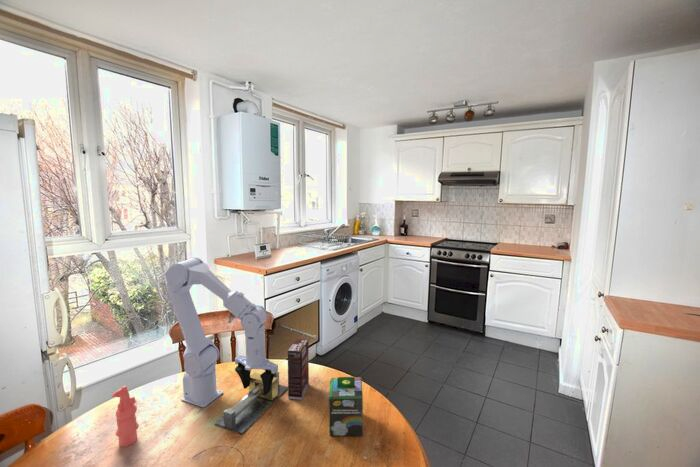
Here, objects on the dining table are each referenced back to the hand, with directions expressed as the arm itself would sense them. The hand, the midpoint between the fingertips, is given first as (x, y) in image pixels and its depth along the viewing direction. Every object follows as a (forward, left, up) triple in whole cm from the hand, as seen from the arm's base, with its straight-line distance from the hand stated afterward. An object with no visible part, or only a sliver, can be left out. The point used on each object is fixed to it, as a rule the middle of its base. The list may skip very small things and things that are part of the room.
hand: (256, 389), depth 97 cm
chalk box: (+29, +2, -4) cm, 29 cm away
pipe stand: (0, -1, -4) cm, 4 cm away
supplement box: (+9, +10, -4) cm, 14 cm away
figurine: (-21, -25, -4) cm, 33 cm away
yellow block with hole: (0, +3, -4) cm, 5 cm away
